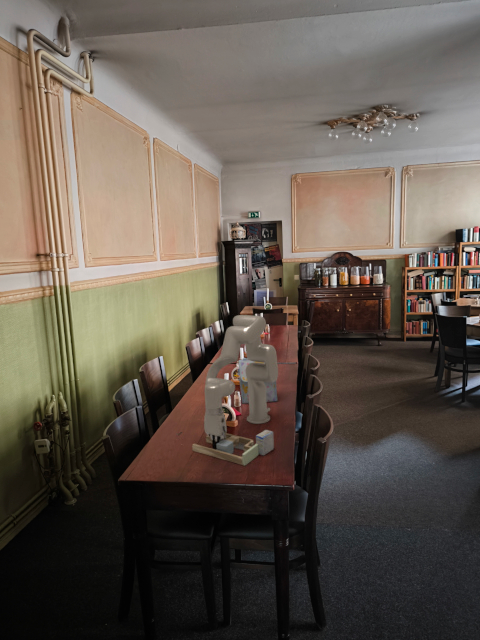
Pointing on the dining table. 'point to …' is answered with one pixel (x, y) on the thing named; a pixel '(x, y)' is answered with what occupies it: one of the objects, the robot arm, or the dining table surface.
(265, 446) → the medicine box
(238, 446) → the pads
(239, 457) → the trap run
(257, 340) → the robot arm
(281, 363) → the dining table surface
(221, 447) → the slate block
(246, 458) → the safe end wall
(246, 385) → the lunch bag
